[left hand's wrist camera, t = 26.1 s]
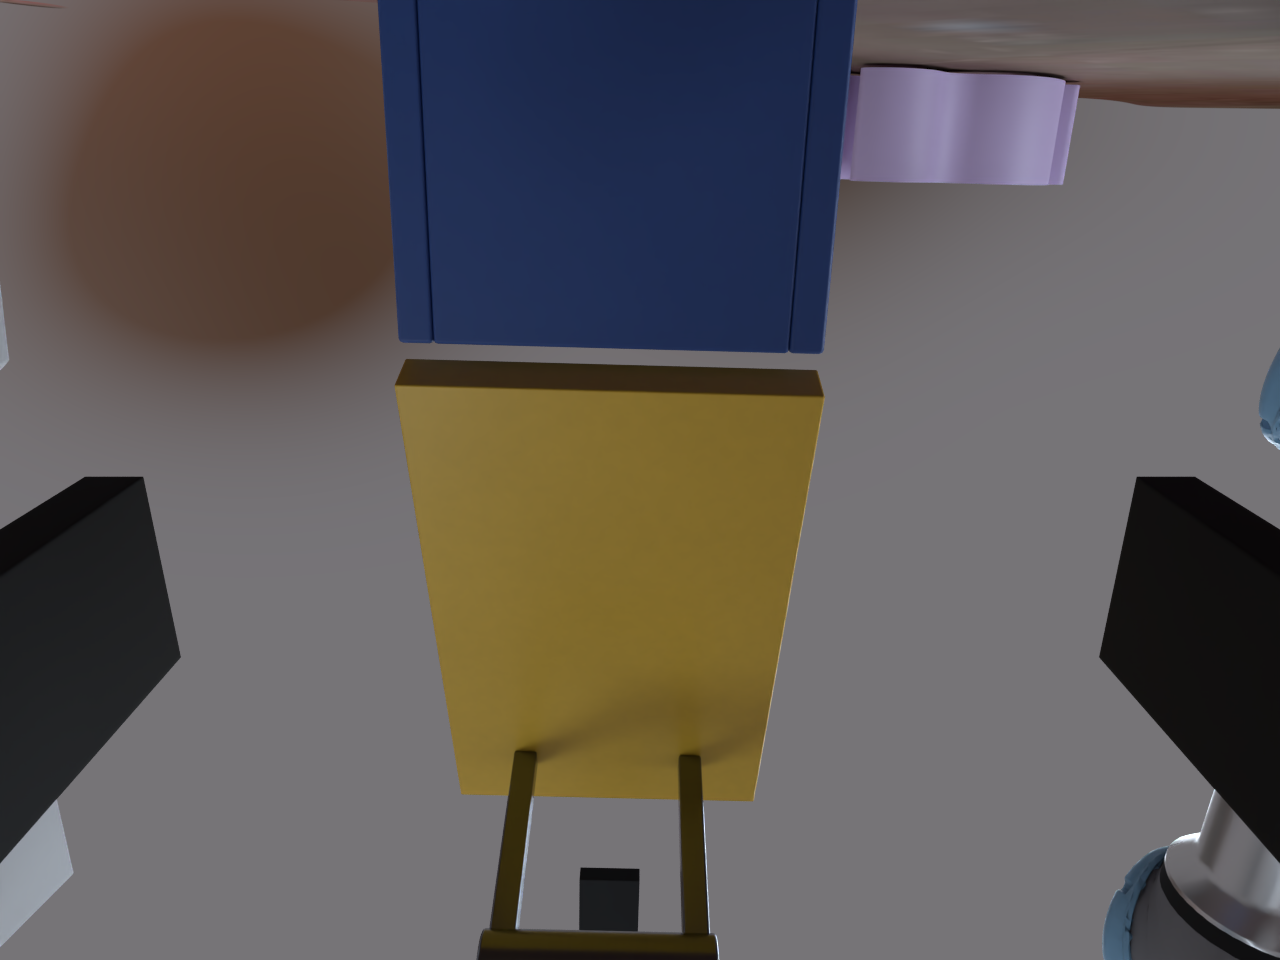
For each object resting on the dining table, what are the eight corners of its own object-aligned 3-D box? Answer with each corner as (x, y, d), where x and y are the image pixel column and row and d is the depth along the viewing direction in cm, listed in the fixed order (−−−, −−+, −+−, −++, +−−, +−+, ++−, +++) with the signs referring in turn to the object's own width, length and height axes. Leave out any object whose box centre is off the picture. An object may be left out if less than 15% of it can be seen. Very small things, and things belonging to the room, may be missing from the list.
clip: (782, 75, 65) (775, 176, 67) (914, 62, 55) (900, 183, 57) (972, 91, 75) (959, 180, 77) (1112, 84, 65) (1094, 185, 67)
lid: (750, 770, 31) (777, 1040, 24) (466, 764, 31) (416, 1032, 24) (817, 369, 21) (892, 635, 15) (405, 357, 21) (294, 619, 15)
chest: (769, -26, 31) (749, 273, 35) (490, -34, 31) (497, 266, 35) (876, -176, 17) (824, 355, 20) (363, -192, 17) (397, 343, 20)
